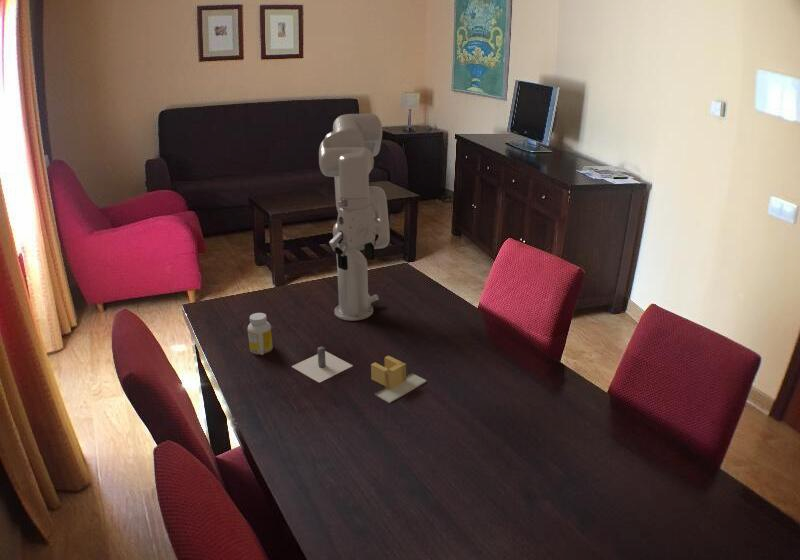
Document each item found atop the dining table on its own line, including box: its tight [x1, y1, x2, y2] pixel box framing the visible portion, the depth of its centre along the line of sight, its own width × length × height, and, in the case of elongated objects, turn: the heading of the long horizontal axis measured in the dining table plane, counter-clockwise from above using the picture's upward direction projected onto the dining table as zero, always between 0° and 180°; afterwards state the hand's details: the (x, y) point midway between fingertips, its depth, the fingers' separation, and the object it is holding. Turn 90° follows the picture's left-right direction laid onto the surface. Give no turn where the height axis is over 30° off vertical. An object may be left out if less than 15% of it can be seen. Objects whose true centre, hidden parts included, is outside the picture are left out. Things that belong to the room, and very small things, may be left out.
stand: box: [291, 346, 354, 383], centre depth 175 cm, size 12×12×6 cm
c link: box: [370, 355, 407, 390], centre depth 170 cm, size 6×6×5 cm
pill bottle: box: [247, 312, 274, 356], centre depth 183 cm, size 6×6×12 cm
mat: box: [373, 372, 427, 404], centre depth 170 cm, size 14×14×1 cm
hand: (356, 263), depth 172 cm, fingers open, 9 cm apart
